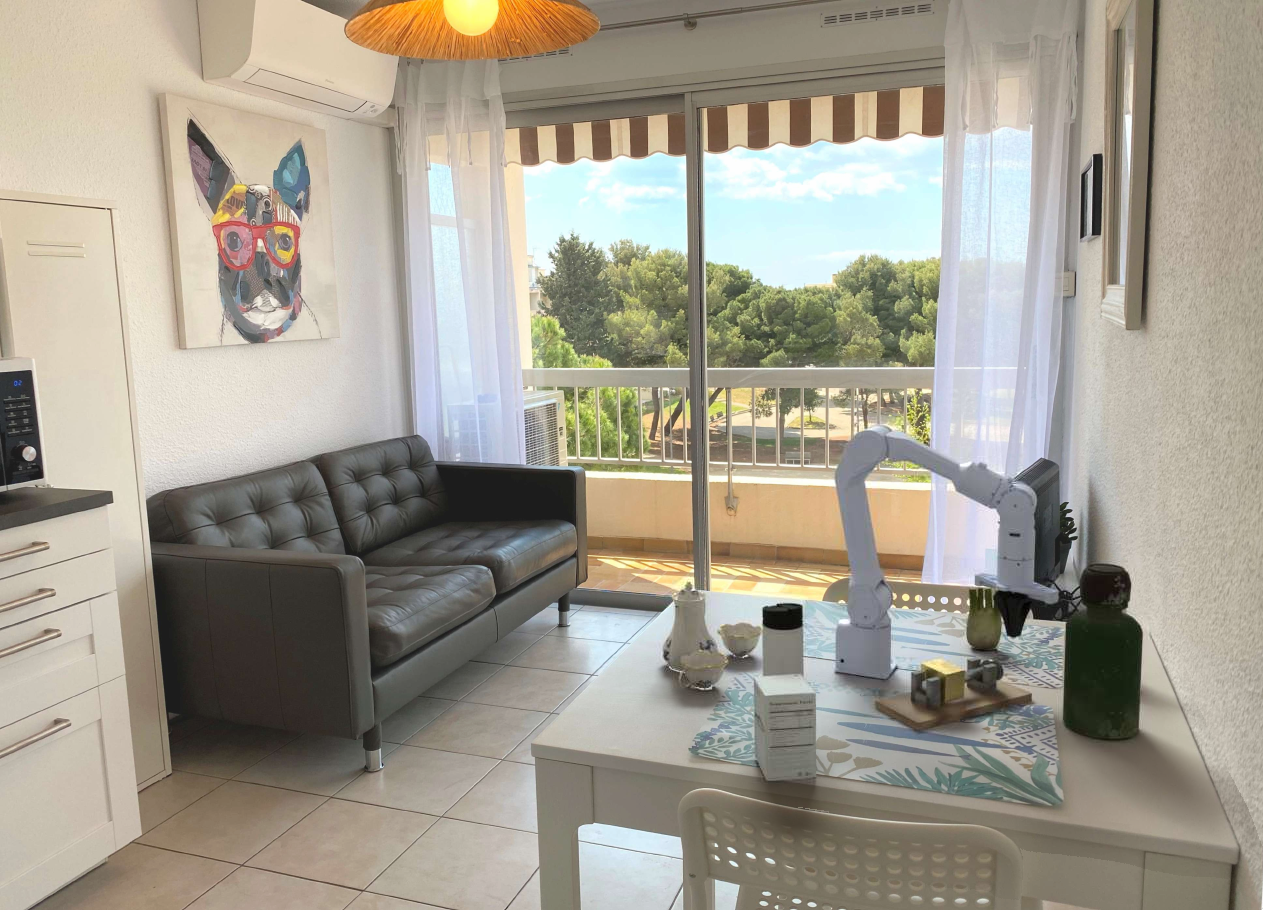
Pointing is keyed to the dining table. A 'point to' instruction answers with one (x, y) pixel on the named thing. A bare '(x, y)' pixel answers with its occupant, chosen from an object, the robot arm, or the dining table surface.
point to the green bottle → (1103, 658)
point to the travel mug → (782, 639)
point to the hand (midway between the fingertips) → (1013, 635)
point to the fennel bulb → (983, 620)
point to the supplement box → (785, 727)
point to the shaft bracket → (931, 711)
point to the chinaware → (703, 640)
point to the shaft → (974, 673)
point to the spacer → (946, 678)
